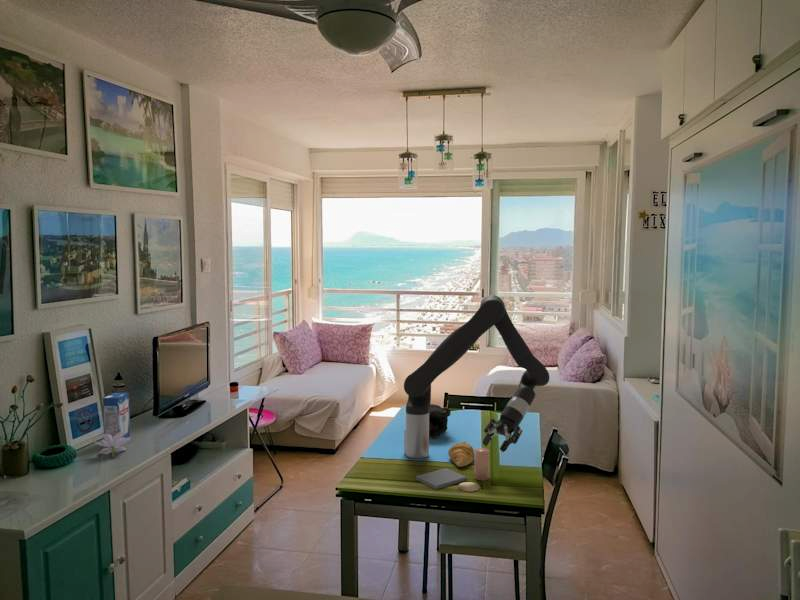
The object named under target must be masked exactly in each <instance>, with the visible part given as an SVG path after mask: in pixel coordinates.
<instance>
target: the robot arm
mask: <svg viewBox="0 0 800 600" xmlns="http://www.w3.org/2000/svg"><path fill="white" fill-rule="evenodd" d="M493 326H494V327H495V328H496V330H497V332H498V333H499V335H500V336H501V339H502V340H503V343H504V344H505V346H506V348H507V350H508V352H509V354H510V355H511V358H513V361H514V362H515V363H516V365H517V366H518V367H519V368H523V369H525V371H524V372H523V374H522V375H521V377H520V379H519V380H520V381H519V383H518V388H517V390H516V391H515V393H514V394H513V396H512V397H511V398H510V400H508V402H507V404H506V405H505V407H504V408H503V411H501V414H500V416H499V417H500V418H499V420H495V418H491V419H490V421H489V422H488V424H487V425H486V426H485V428H484V430H483V432H484V433H485V436H484V438H483V439H482V444H483V445H484V446H485V447H487V446H488V445H489V443H490V441H491V440H492V438H493V437H494V436H499V435H501V436H503V437H505V440H504V441H503V442H502V444H501V445H500V447H499V450H500V451H501V452H502V453H504V452H505V451H506V452H507V450H508V448H509V446H510V445H511V444H514V445H516V444H517V443H518V441H519V440H520V437H521V435H522V433H523V429H522V428H521V426H520V424H521V423H522V421H523V420H524V418H525V416H526V415H527V412H528V410H529V409H530V406H531V405H532V403H533V401H534V399H535V398H536V393H535V391H534V389H535V388H536V387H544V386H546V385H548V384H549V382H550V374H549V371H548V369H547V367H546V366H545V365H544V364H543V363H542V362H541V361H540V360H539V359H538V358H537V357H536V356H535V355H534V354H533V352H532V351H531V349H530V347H529V346H528V345H527V342H525V340H524V339H523V337H522V335H521V334H520V332H519V331H518V330H517V328H516V326H515V325H514V323H513V322H512V320H511V318H510V316H509V314H508V311H507V308H506V307H505V302H504V301H503V299H501V297H500V296H497V295H494V294H493V295H492V294H490V295H489V294H488V295H487V296H485V297H484V298H482V300H481V301H480V306H479V308H478V310H477V311H476V312H475V313H474V314H473V315H472V316H471V318H469V320H468V321H466V322H465V323H464V324H463V325H461V326H459V327H457V329H455V330H454V331H452V332H451V333H450V334H448V335H447V337H445V339H444V340H443V341H442V342H441V343H440V344H438V346H437V347H436V349H435V350H434V351H433V352H432V353H431V354H430V356H429V357H428V359H426V361H424V363H423V364H421V365H420V366H419V367H418V368H416V369H415V370H414V371H413V372H411V374H409V375H407V377H406V378H405V379H404V383H403V390H404V392H405V394H406V395H407V396H408V397H407V402H406V405H405V429H404V431H403V432H404V433H403V435H404V436H403V437H404V438H403V439H404V440H403V441H404V442H403V444H404V445H403V446H404V447H403V448H404V449H403V450H404V451H403V452H404V454H405V456H406V457H409V458H411V459H425V458H427V457H429V455H430V439H429V407H430V404H431V401H432V397H431V396H432V383H433V382H434V381H435V380H436V379H437V378H438V377H439V376H440V375H441V374H443V373H444V372H445V371H447V370H448V369H449V368H451V367H452V366H453V365H455V363H457V362H458V361H459V360H460V359H461V358H463V356H464V355H465V354H466V353H467V352H468V351H469V350H470V349H471V348H472V347H473V346H474V345H475V344H476V343H477V342H478V340H479V339H480V338H481V336H483V334H485V333H486V332H487V331H488V330H489V329H492V327H493Z"/></svg>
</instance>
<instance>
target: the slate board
mask: <svg viewBox="0 0 800 600" xmlns="http://www.w3.org/2000/svg"><path fill="white" fill-rule="evenodd" d="M415 480H416V481H418V482H420V483H422V484H424V485H426V486H428V487H430V488H433V489H435V490H438V489H441V488H444V487H445V488H446V487H448V486H451V485H455V484H460V483H463V482H465V481H466V482H467V476H465V475H464V474H461V473H458V472H456V471H454V470H451V469H450V468H447V467H445V468H440V469H437V470H434V471H430V472H426V473H421V474H419V475H415Z"/></svg>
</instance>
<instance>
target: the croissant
mask: <svg viewBox="0 0 800 600" xmlns="http://www.w3.org/2000/svg"><path fill="white" fill-rule="evenodd" d="M447 454H448V457H449V458H450V460H451V461H452V462H453V463H454V465H456V466H457V467H459V468H462V467H466V466H468V465H469V464H472V463H473V462H475V449H474V447H473V446H472V445H471V444H470V443H467V442H465V441H462V442H457V443H455V444H453V445H452V446H450V447H449V449H448V451H447Z"/></svg>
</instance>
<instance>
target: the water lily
mask: <svg viewBox="0 0 800 600" xmlns="http://www.w3.org/2000/svg"><path fill="white" fill-rule="evenodd" d="M122 434H123V432H122V431H121V432H119V433H118V434H116V435H115V436H114V438H113V439H112V436H111V435H110V434H105V435H104V433H103V434H102V437H103V439H101V441H102V442H99V441H95V442H94V444H95V445H97V446H100V447H104V448H103V449H101V450H99V452H98V455H102V454H105V453H108V452H109V451H110V450H111V457H112V458H115V456H114V450H116V451H119V452H126V451H127V449H126V447H123V446H122V445H125V444H126V443H127V442H129V441H130V440H131V439H132V437H131V436H130V437H128V438H125V437H123V438H121V437H122ZM104 439H105V440H104Z"/></svg>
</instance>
